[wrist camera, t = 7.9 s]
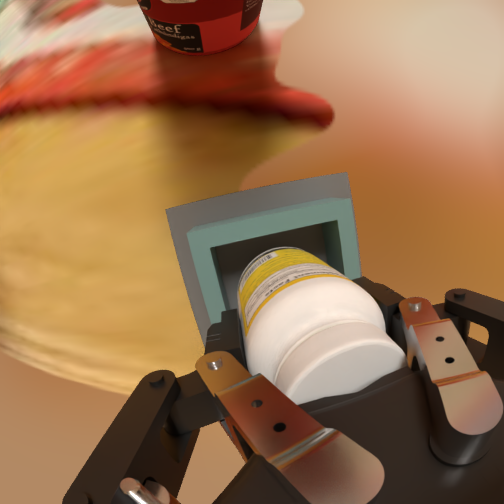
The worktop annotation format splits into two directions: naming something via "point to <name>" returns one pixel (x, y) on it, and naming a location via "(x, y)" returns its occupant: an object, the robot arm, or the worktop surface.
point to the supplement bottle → (311, 327)
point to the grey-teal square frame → (260, 236)
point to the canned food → (201, 23)
